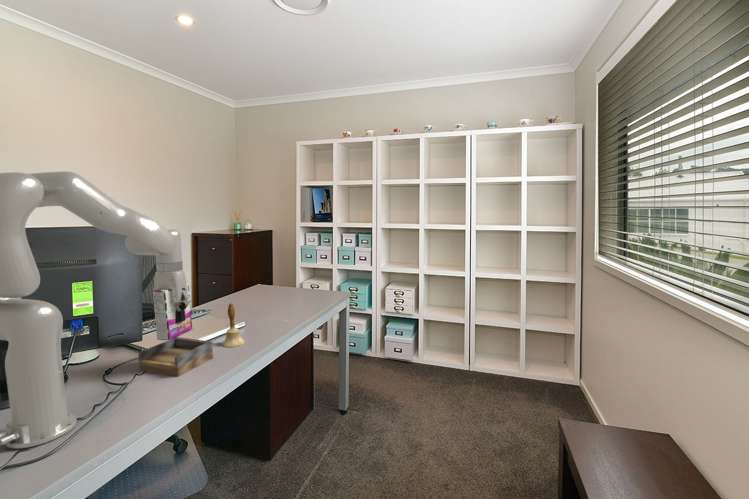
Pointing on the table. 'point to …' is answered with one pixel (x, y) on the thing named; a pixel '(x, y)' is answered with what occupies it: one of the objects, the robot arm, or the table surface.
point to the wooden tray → (175, 356)
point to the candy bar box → (169, 316)
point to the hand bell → (232, 331)
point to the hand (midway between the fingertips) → (173, 320)
